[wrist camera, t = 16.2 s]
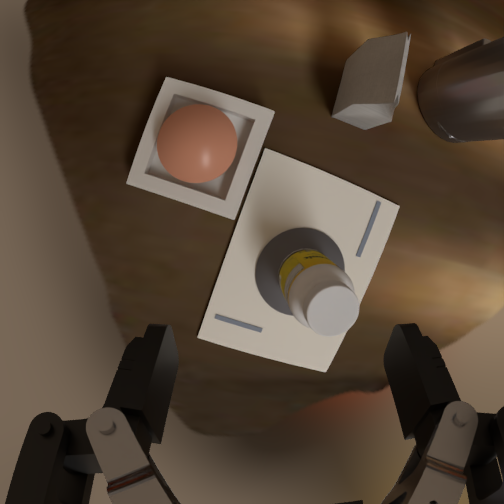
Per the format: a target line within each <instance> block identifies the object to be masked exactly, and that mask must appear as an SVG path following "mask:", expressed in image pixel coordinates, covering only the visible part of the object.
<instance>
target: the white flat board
mask: <svg viewBox="0 0 504 504" xmlns="http://www.w3.org/2000/svg"><path fill="white" fill-rule="evenodd" d="M399 207H400V206H398V205H396V204H394V203H392V202H390V201H388V200H386V199H384V198H382V197H380V196H377V195H375V194H373V193H371V192H369V191H367V190H365V189H363V188H360V187H358V186H356V185H354V184H352V183H349V182H347V181H345V180H343V179H340V178H338V177H336V176H333V175H331V174H329V173H326V172H324V171H322V170H319V169H317V168H315V167H312V166H310V165H307V164H305V163H302V162H300V161H297V160H295V159H292V158H290V157H287V156H285V155H282V154H280V153H277V152H274V151H272V150H269V149H267V148H265V149H264V152H263V155H262V157H261V160H260V163H259V165H258V168H257V171H256V173H255V176H254V179H253V182H252V184H251V187H250V190H249V192H248V195H247V198H246V201H245V203H244V206H243V209H242V212H241V214H240V217H239V220H238V223H237V225H236V228H235V231H234V234H233V236H232V239H231V242H230V245H229V248H228V250H227V253H226V256H225V259H224V262H223V265H222V267H221V270H220V273H219V276H218V279H217V282H216V284H215V287H214V290H213V293H212V296H211V299H210V302H209V305H208V307H207V310H206V313H205V316H204V319H203V322H202V325H201V328H200V331H199V334H198V337H197V338H200V339H203V340H206V341H209V342H213V343H216V344H219V345H223V346H226V347H229V348H233V349H236V350H240V351H243V352H247V353H250V354H254V355H258V356H261V357H265V358H269V359H273V360H277V361H280V362H284V363H288V364H292V365H297V366H301V367H305V368H309V369H313V370H318V371H322V372H326V371H327V369H328V367H329V365H330V364H331V362H332V360H333V358H334V356H335V354H336V352H337V350H338V348H339V346H340V344H341V342H342V340H343V338H344V336H345V334H346V332H347V331H346V332H344V333H342V334H340V335H337V336H332V337H326V336H321V335H319V334H317V333H315V332H314V331H313V330H312V329H311V328H308V327H306V326H304V325H302V324H301V323H300V322H298V321H297V320H296V318H295V317H294V315H293V314H292V312H291V310H290V308H289V306H288V303H287V301H286V299H285V297H284V295H283V293H282V291H281V288H280V286H279V282H278V272H279V268H280V266H281V264H282V262H283V260H284V259H285V258H286V257H287V256H288V255H289V254H291V253H292V252H294V251H296V250H299V249H314V250H317V251H319V252H320V253H322V254H323V255H325V256H326V257H327V258H328V259H330V260H331V261H332V262H333V263H334V264H336V265H337V266H338V267H340V268H341V269H342V270H343V271H345V273H346V274H347V275H348V276H349V277H350V279H351V281H352V283H353V286H354V291H355V295H356V296H357V298H358V301H359V305H360V303H361V300H362V298H363V296H364V294H365V292H366V289H367V287H368V285H369V282H370V280H371V278H372V276H373V273H374V271H375V268H376V266H377V264H378V261H379V259H380V256H381V254H382V252H383V249H384V247H385V244H386V241H387V239H388V236H389V234H390V231H391V229H392V226H393V223H394V221H395V218H396V215H397V212H398V210H399Z"/></svg>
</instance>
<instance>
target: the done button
mask: <svg viewBox="0 0 504 504" xmlns="http://www.w3.org/2000/svg"><path fill="white" fill-rule="evenodd" d="M236 150H237V134H236V130H235V128H234V125H233V124H232V122H231V120H230V119H229V118H228V117H227V116H226V115H225V114H224V113H223V112H222V111H220V110H218V109H217V108H214V107H212V106H208V105H203V104H194V105H189V106H185V107H183V108H180V109H179V110H177V111H175V112H174V113H172V114H171V115H170V116H169V117H168V118H167V119H166V121H165V122H164V123H163V125H162V127H161V129H160V131H159V134H158V138H157V152H158V156H159V159H160V162H161V163H162V165H163V167H164V168H165V169H166V170H167V171H168V172H169V173H170V174H171V175H172V176H173V177H175V178H177V179H179V180H181V181H185V182H189V183H203V182H208V181H211V180H214V179H216V178H218V177H219V176H221V175H222V174H223V173H224V172H225V171H226V170H227V169H228V168H229V167H230V165H231V164H232V162H233V160H234V158H235V155H236Z"/></svg>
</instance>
